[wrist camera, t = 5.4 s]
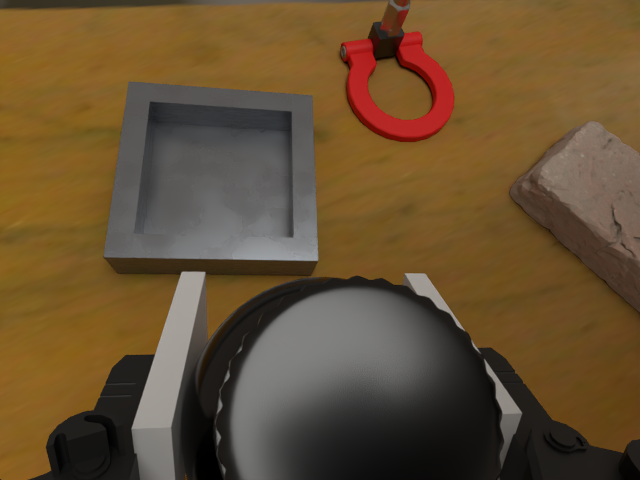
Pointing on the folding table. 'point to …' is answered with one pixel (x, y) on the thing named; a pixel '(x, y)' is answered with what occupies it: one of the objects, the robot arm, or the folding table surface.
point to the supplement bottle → (341, 390)
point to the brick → (590, 203)
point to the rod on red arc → (409, 51)
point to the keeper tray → (214, 183)
